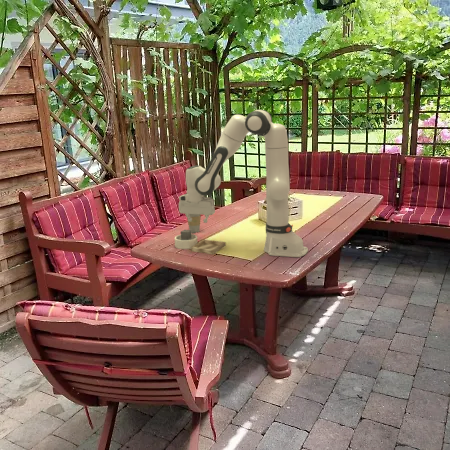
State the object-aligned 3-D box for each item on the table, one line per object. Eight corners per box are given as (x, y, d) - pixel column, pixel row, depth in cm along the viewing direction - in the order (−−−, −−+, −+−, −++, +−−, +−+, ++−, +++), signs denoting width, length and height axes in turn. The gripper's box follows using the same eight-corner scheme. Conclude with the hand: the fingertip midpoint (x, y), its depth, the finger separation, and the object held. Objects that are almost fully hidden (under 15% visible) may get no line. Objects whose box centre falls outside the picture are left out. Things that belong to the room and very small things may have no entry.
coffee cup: (188, 235, 273) (187, 209, 269) (185, 230, 282) (183, 206, 277) (204, 233, 275) (203, 208, 271) (200, 228, 284) (199, 204, 280)
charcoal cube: (191, 237, 252) (191, 230, 251) (187, 239, 249) (187, 232, 247) (185, 236, 254) (184, 229, 253) (181, 238, 250) (180, 231, 249)
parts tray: (225, 247, 250) (225, 242, 249) (213, 256, 238) (213, 250, 237) (204, 244, 255) (204, 239, 255) (191, 252, 243) (190, 247, 243)
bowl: (201, 245, 255) (201, 235, 253) (190, 252, 245) (190, 242, 243) (182, 242, 260) (182, 232, 259) (170, 249, 250) (170, 239, 248)
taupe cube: (191, 244, 253) (191, 237, 252) (187, 246, 250) (187, 239, 249) (185, 243, 255) (184, 236, 254) (181, 246, 251) (181, 238, 250)
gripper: (216, 196, 246) (217, 221, 250) (182, 194, 255) (184, 219, 259) (210, 198, 241) (212, 224, 245) (176, 197, 250) (178, 222, 253)
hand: (197, 221), depth 252 cm, fingers open, 8 cm apart
